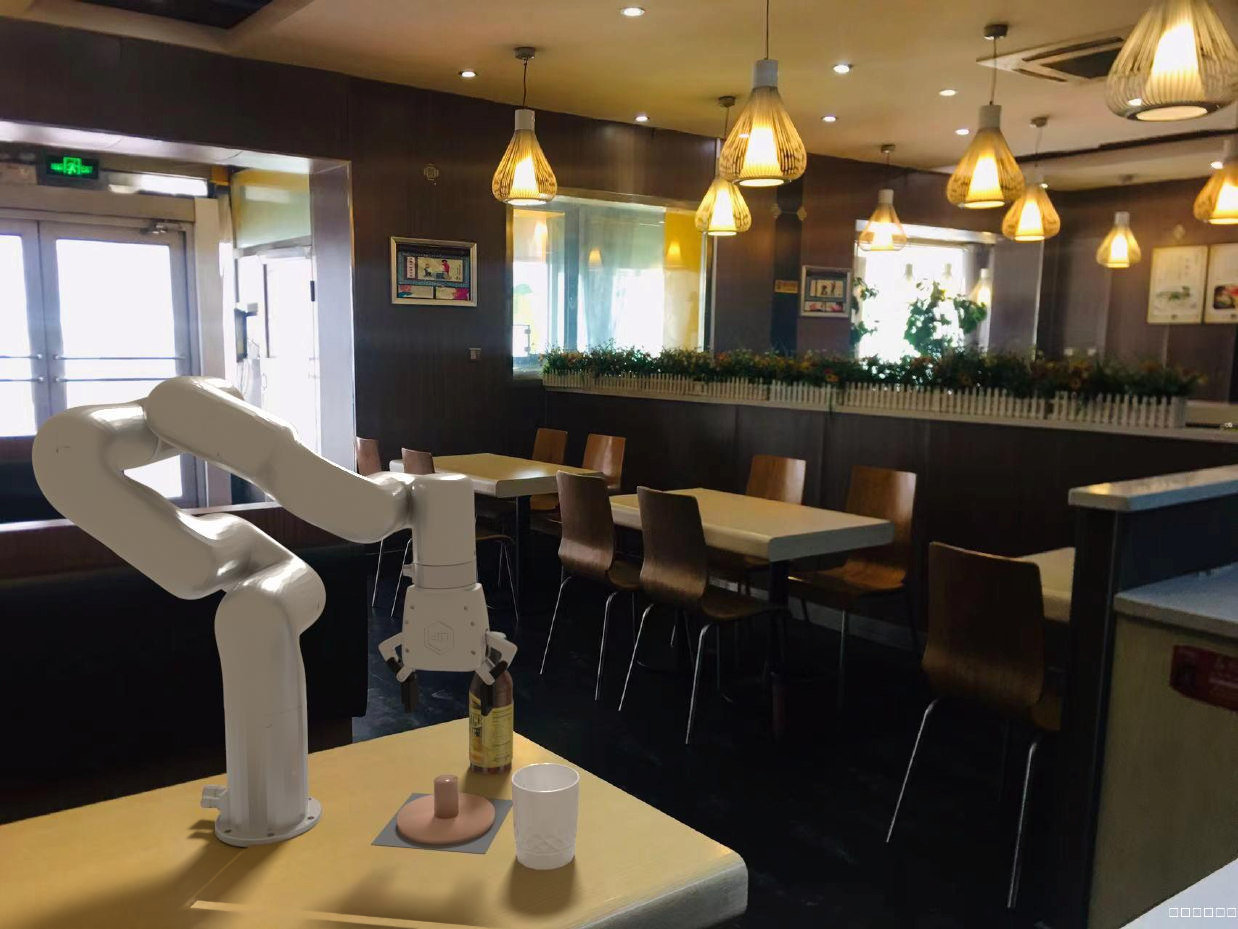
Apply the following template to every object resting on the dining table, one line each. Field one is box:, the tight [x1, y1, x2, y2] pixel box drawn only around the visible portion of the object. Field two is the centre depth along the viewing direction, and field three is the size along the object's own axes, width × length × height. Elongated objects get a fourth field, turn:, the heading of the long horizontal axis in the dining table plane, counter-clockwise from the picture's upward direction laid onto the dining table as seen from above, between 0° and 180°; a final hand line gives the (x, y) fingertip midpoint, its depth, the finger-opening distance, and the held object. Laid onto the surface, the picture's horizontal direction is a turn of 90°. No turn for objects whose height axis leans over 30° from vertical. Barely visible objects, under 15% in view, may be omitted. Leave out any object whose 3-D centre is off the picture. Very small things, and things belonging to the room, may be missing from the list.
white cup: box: [510, 762, 580, 871], centre depth 110 cm, size 8×8×10 cm
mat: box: [370, 792, 513, 855], centre depth 118 cm, size 14×14×1 cm
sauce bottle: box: [468, 631, 514, 776], centre depth 134 cm, size 7×6×20 cm
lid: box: [397, 774, 495, 845], centre depth 118 cm, size 12×12×5 cm
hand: (449, 710), depth 116 cm, fingers open, 9 cm apart
